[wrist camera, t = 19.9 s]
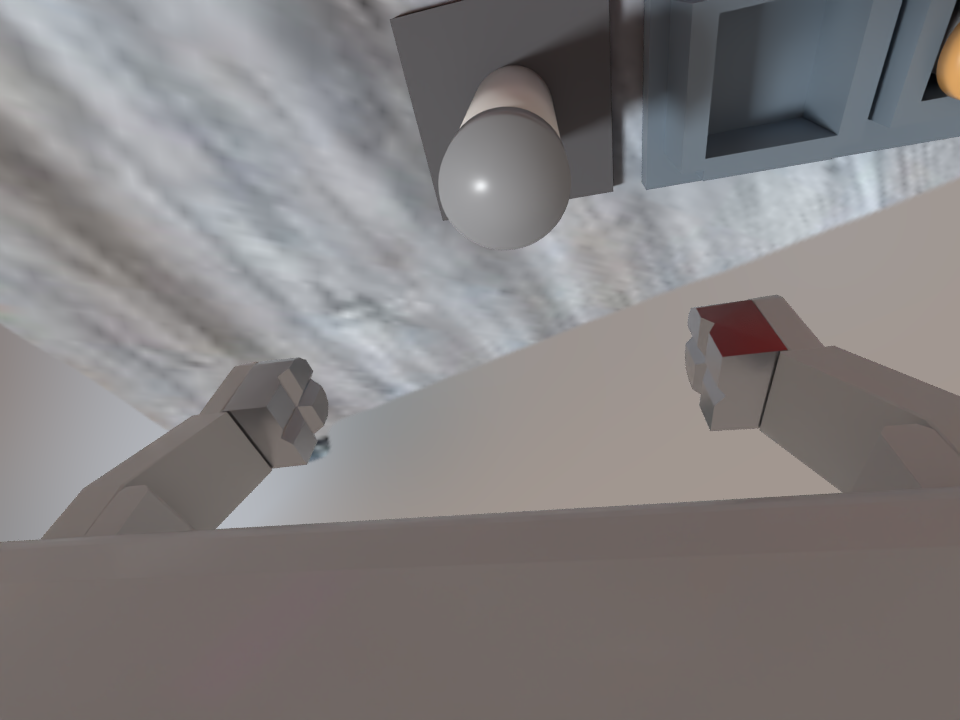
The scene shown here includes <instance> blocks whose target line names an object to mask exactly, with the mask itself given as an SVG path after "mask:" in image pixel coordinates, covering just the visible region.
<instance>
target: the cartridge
mask: <svg viewBox="0 0 960 720" xmlns="http://www.w3.org/2000/svg"><path fill="white" fill-rule="evenodd" d="M438 187H439V196H440V201H441V204H442V207H443V209H444V212H445V214H446V216H447V217H448V219H449V221H450V222H451V224H452V225H453V226H454V227H455V228H456V230H457V231H459V232H460V233H461V234H462V235H463V236H464V237H466V238H467V239H468V240H470V241H472V242H474V243H475V244H478V245H480V246H483V247H486V248H490V249H496V250H513V249H518V248H523V247H526V246H528V245H531V244H533V243H535V242H537V241H538V240H540V239H542V238H543V237H544V236H546V235H547V234H548V233H549V232H550V231H551V230H552V229H553V228H554V227H555V226H556V225H557V223H558V222H559V220H560V219H561V217H562V215H563V213H564V212H565V209H566V207H567V204H568V201H569V197H570V190H571V175H570V168H569V164H568V159H567V155H566V152H565V148H564V146H563V143H562V141H561V139H560V134H559V130H558V125H557V120H556V116H555V111H554V106H553V102H552V97H551V94H550V91H549V89H548V87H547V85H546V83H545V82H544V80H543V79H542V78H541V77H540V76H539V75H538V74H537V73H535V72H534V71H533V70H531V69H529V68H526V67H523V66H518V65H510V66H504V67H501V68H499V69H497V70H495V71H493V72H492V73H490V74H489V75H488V76H487V77H486V78H485V79H484V80H483V81H482V82H481V84H480V85H479V87H478V89H477V91H476V93H475V95H474V98H473V100H472V102H471V104H470V106H469V109H468V111H467V113H466V115H465V118H464V120H463V122H462V124H461V126H460V129H459V130H458V131H457V132H456V134H455V135H454V137H453V139H452V141H451V143H450V145H449V147H448V149H447V151H446V153H445V155H444V157H443V160H442V163H441V166H440V172H439V180H438Z"/></svg>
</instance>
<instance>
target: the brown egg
mask: <svg viewBox="0 0 960 720" xmlns="http://www.w3.org/2000/svg"><path fill="white" fill-rule="evenodd" d="M931 73H933V74H936V76H937V82H938V85H939V87H940V89H941V90H942V91H943V92H944V93H945V94H946V95H947V96H949V97H951V98H954V99H957V100H960V0H957V1H956V4H955V6H954V9H953V12H952V15H951V18H950V21H949V23H948V26H947V29H946V32H945V35H944V38H943V40H942V43H941V46H940V49H939V52H938V55H937V57H936V60H935V63H934V66H933V69H932V72H931Z"/></svg>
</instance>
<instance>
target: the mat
mask: <svg viewBox="0 0 960 720" xmlns="http://www.w3.org/2000/svg"><path fill="white" fill-rule="evenodd" d="M390 22H391V26H392V30H393V34H394V37H395V41H396V45H397V49H398V53H399V56H400V60H401V64H402V68H403V71H404V75H405V79H406V83H407V87H408V90H409V94H410V98H411V102H412V105H413V109H414V113H415V117H416V121H417V124H418V128H419V132H420V136H421V139H422V143H423V147H424V151H425V155H426V158H427V162H428V166H429V170H430V173H431V177H432V181H433V185H434V189H435V192H436V196H437V200H438V204H439V207H440V211H441V215H442V219H443V221H444V220H449V219H448V217H447V216H446V214H445V212H444V209H443V207H442V204H441V201H440V196H439V187H438V180H439V172H440V166H441V163H442V160H443V157H444V155H445V153H446V151H447V149H448V147H449V145H450V143H451V141H452V139H453V137H454V135H455V134H456V132H457V131H458V130H459V129H460V126H461V124H462V122H463V120H464V118H465V115H466V113H467V111H468V109H469V106H470V104H471V102H472V100H473V98H474V95H475V93H476V91H477V89H478V87H479V85H480V84H481V82H482V81H483V80H484V79H485V78H486V77H487V76H488V75H489V74H490V73H492V72H493V71H495V70H497V69H499V68H501V67H504V66H510V65H518V66H523V67H526V68H529V69H531V70H533V71H534V72H535V73H537V74H538V75H539V76H540V77H541V78H542V79H543V80H544V82H545V83H546V85H547V87H548V89H549V91H550V94H551V97H552V102H553V106H554V111H555V116H556V120H557V125H558V130H559V134H560V139H561V141H562V143H563V146H564V148H565V152H566V155H567V159H568V164H569V168H570V175H571V190H570V197H569V199H572V198H578V197H584V196H590V195H595V194H601V193H607V192H613V158H612V114H611V69H610V25H609V0H462V1H458V2H454V3H451V4H447V5H443V6H439V7H435V8H431V9H428V10H424V11H420V12H416V13H412V14H408V15H405V16H401V17H397V18H393V19H390Z"/></svg>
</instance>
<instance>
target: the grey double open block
mask: <svg viewBox="0 0 960 720" xmlns="http://www.w3.org/2000/svg"><path fill="white" fill-rule="evenodd" d="M956 1H957V0H644V61H643V124H642V184H643V185H644V187H645V189H646V190H648V189H654V188H660V187H666V186H672V185H678V184H683V183H689V182H695V181H701V180H703V181H706V180H712V179H718V178H723V177H729V176H735V175H741V174H747V173H753V172H759V171H764V170H770V169H776V168H782V167H788V166H794V165H800V164H806V163H811V162H817V161H823V160H829V159H832V158H836V157H842V156H848V155H853V154H859V153H865V152H871V151H877V150H883V149H889V148H894V147H900V146H906V145H912V144H918V143H924V142H930V141H935V140H941V139H947V138H953V137H959V136H960V100H957V99H954V98H951V97H949V96H947V95H946V94H945V93H944V92H943V91H942V90H941V89H940V87H939V85H938V82H937V76H936V74H933V73H931V72H932V69H933V66H934V63H935V60H936V57H937V55H938V52H939V49H940V46H941V43H942V40H943V38H944V35H945V32H946V29H947V26H948V23H949V21H950V18H951V15H952V12H953V9H954V6H955V4H956Z"/></svg>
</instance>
